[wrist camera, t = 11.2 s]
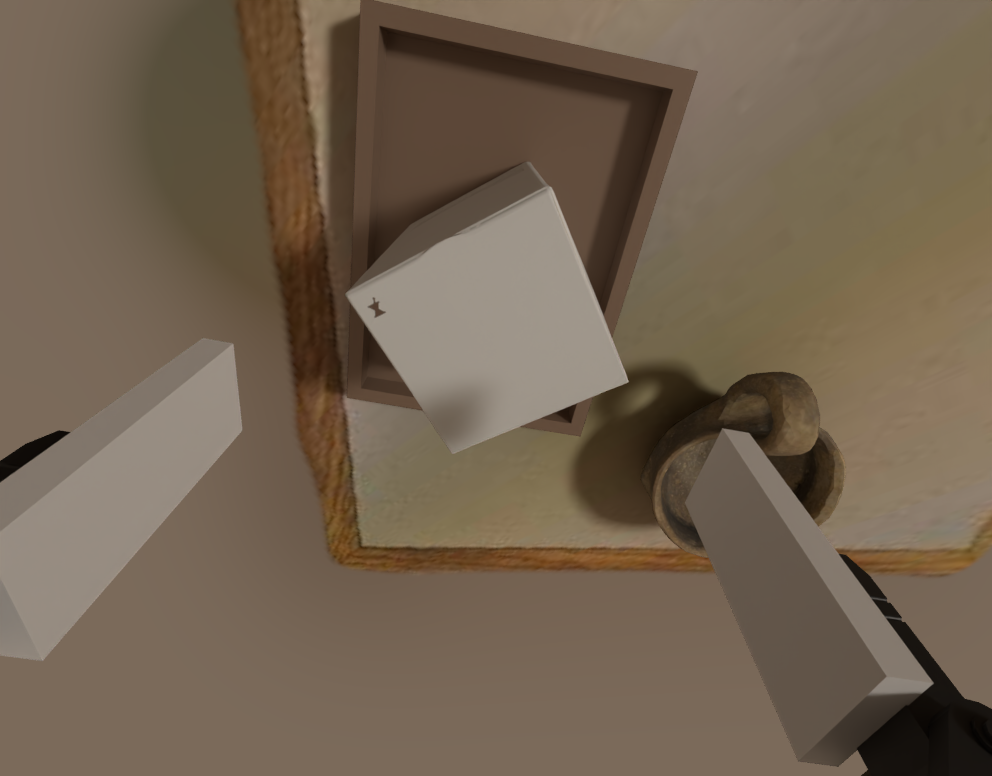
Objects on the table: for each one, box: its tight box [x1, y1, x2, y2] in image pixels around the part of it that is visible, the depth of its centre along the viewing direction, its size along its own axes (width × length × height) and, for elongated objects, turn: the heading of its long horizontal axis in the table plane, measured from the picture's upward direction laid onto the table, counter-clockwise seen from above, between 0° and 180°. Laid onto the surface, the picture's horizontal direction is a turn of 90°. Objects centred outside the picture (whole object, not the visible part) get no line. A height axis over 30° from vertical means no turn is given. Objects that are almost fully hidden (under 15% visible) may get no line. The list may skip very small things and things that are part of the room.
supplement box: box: [345, 162, 629, 454], centre depth 26 cm, size 9×9×15 cm
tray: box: [347, 0, 698, 436], centre depth 32 cm, size 24×18×2 cm
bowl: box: [641, 372, 846, 558], centre depth 35 cm, size 14×18×10 cm
